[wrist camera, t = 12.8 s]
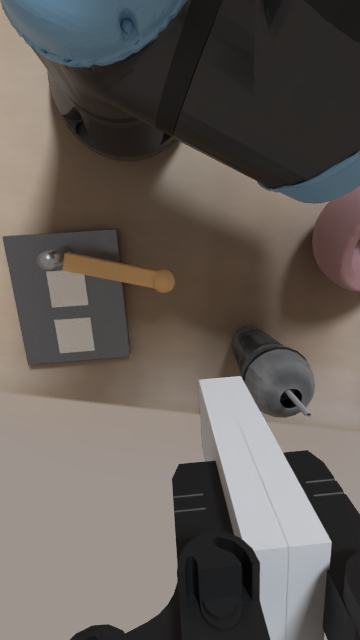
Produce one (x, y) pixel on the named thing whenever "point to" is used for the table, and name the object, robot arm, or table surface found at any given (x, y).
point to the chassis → (67, 297)
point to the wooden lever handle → (119, 272)
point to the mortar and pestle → (339, 241)
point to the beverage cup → (273, 373)
